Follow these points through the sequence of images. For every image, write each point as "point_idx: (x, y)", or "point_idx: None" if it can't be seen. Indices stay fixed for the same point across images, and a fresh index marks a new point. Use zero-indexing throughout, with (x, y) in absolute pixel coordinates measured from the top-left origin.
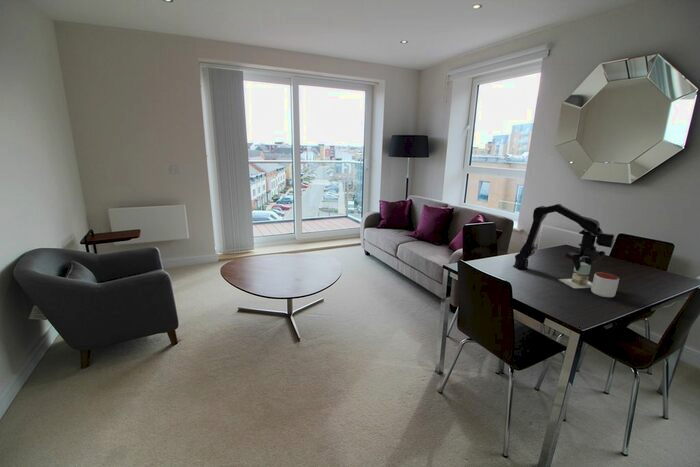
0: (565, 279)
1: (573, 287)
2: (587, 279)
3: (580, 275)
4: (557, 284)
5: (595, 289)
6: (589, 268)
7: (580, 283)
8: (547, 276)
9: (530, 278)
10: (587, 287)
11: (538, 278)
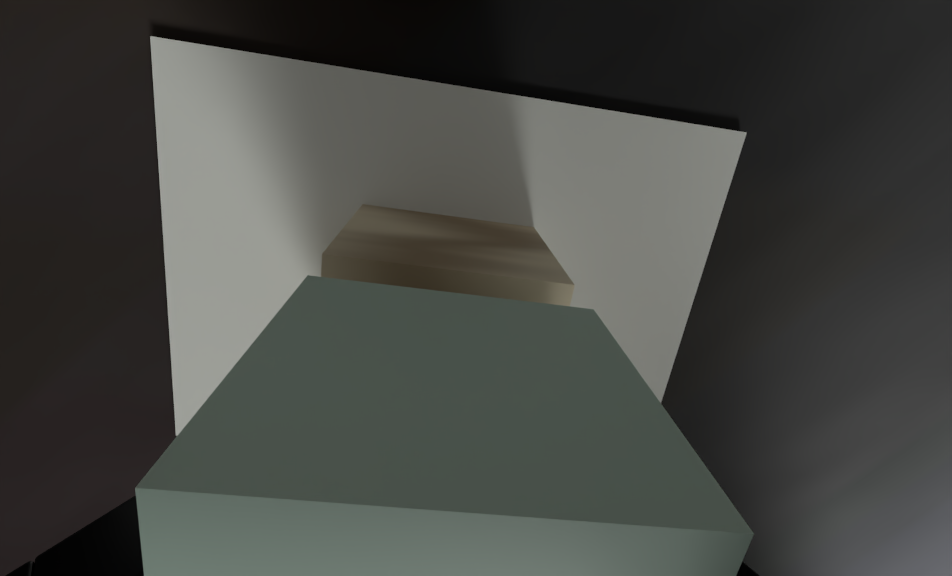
0: None
1: (721, 165)
2: (353, 234)
3: None
4: (815, 335)
5: None
6: (278, 385)
7: (505, 229)
8: None
9: (947, 553)
10: (460, 101)
11: (848, 539)
